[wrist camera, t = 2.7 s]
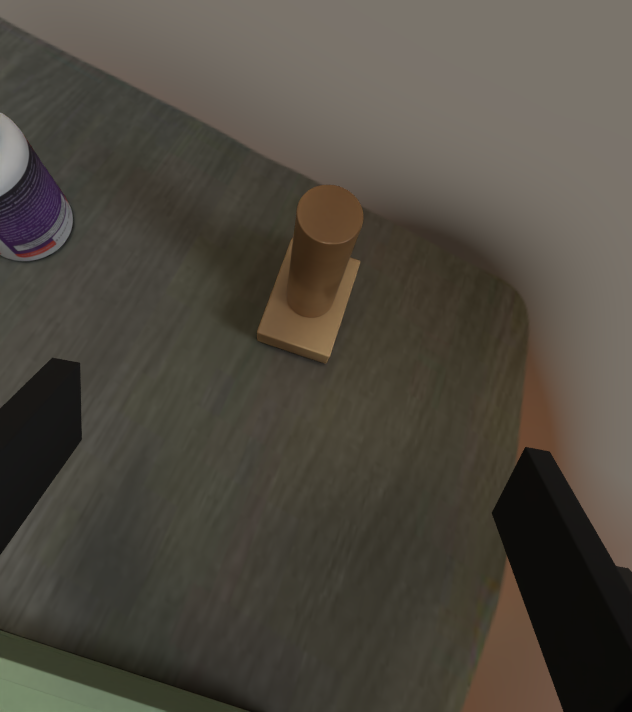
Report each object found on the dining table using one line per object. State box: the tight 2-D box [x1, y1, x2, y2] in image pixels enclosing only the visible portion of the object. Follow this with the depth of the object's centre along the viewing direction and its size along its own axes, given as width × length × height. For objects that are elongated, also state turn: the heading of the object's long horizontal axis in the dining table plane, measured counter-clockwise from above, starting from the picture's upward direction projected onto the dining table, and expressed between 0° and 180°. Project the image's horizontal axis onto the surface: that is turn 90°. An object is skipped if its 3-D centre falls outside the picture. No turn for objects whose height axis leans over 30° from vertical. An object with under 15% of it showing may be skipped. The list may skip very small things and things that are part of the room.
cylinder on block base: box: [257, 185, 363, 363], centre depth 27 cm, size 4×6×11 cm
